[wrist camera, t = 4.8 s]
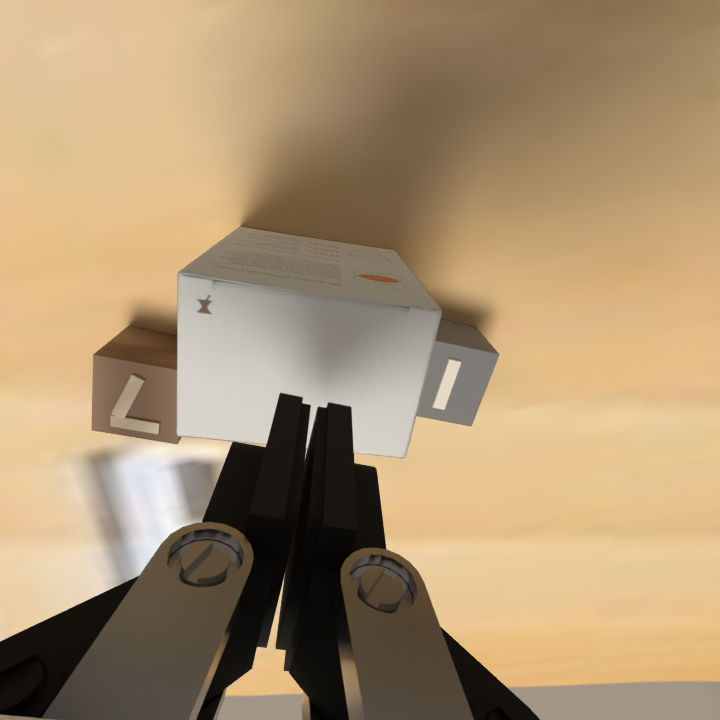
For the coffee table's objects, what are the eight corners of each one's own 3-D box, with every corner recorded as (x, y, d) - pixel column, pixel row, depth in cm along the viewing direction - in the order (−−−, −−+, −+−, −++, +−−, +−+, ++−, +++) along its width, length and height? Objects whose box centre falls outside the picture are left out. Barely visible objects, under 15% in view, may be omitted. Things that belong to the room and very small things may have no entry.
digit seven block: (207, 340, 25) (184, 373, 21) (198, 404, 26) (176, 446, 23) (129, 325, 24) (91, 356, 21) (125, 391, 26) (90, 432, 22)
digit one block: (475, 326, 25) (500, 355, 22) (452, 390, 27) (472, 428, 23) (405, 310, 25) (418, 338, 21) (386, 376, 26) (395, 413, 23)
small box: (231, 330, 25) (167, 439, 15) (238, 222, 23) (168, 269, 13) (379, 350, 26) (408, 465, 16) (399, 248, 23) (446, 310, 14)
